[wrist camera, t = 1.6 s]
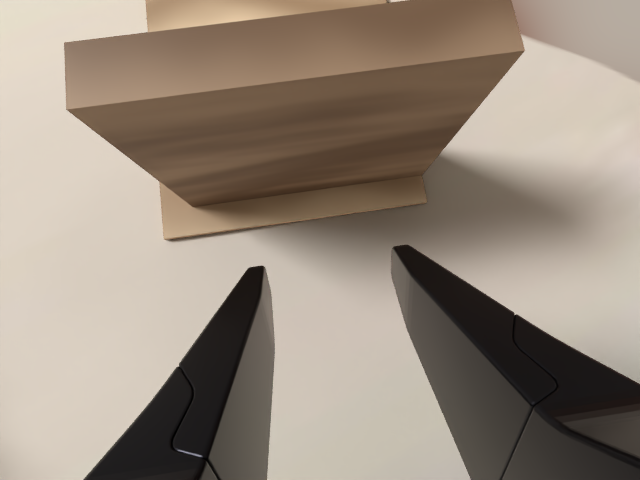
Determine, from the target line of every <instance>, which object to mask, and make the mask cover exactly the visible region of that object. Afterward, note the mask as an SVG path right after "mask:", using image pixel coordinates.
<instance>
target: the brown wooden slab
mask: <svg viewBox="0 0 640 480" xmlns="http://www.w3.org/2000/svg"><path fill="white" fill-rule="evenodd" d="M64 51H65V82H66V110H68V111H69V112H70V113H72V114H73V115H74V116H75V117H77V118H78V119H79V120H81V121H82V122H83V123H85V124H86V125H87V126H88V127H90V128H91V129H92V130H94V131H95V132H96V133H97V134H99V135H100V136H101V137H103V138H104V139H105V140H107V141H108V142H109V143H110V144H112V145H113V146H114V147H116V148H117V149H118V150H119V151H121V152H122V153H123V154H125V155H126V156H127V157H129V158H130V159H131V160H132V161H134V162H135V163H136V164H138V165H139V166H140V167H142V168H143V169H144V170H145V171H147V172H148V173H149V174H151V175H152V176H153V177H154V178H156V179H157V180H158V181H160V182H161V183H162V184H164V185H165V186H166V187H167V188H169V189H170V190H171V191H173V192H174V193H175V194H177V195H178V196H179V197H180V198H182V199H183V200H184V201H186V202H187V203H188V204H189V205H191V206H192V207H198V206H205V205H212V204H220V203H227V202H234V201H241V200H248V199H256V198H263V197H270V196H277V195H284V194H291V193H299V192H306V191H313V190H320V189H327V188H335V187H342V186H349V185H356V184H363V183H371V182H378V181H385V180H392V179H399V178H407V177H414V176H421V175H423V173H424V172H425V171H426V170H427V169H428V167H429V166H430V165H431V164H432V163H433V161H434V160H435V159H436V158H437V156H438V155H439V154H440V153H441V152H442V150H443V149H444V148H445V147H446V146H447V144H448V143H449V142H450V141H451V139H452V138H453V137H454V136H455V135H456V133H457V132H458V131H459V130H460V129H461V127H462V126H463V125H464V124H465V122H466V121H467V120H468V119H469V118H470V116H471V115H472V114H473V113H474V112H475V110H476V109H477V108H478V107H479V106H480V104H481V103H482V102H483V101H484V99H485V98H486V97H487V96H488V95H489V93H490V92H491V91H492V90H493V89H494V87H495V86H496V85H497V84H498V82H499V81H500V80H501V79H502V78H503V76H504V75H505V74H506V73H507V72H508V70H509V69H510V68H511V67H512V65H513V64H514V63H515V62H516V61H517V59H518V58H519V57H520V56H521V55H522V53H523V52H524V51H525V49H524V46H523V42H522V38H521V34H520V31H519V27H518V24H517V20H516V16H515V12H514V9H513V5H512V1H511V0H408V1H400V2H392V3H383V4H375V5H367V6H359V7H351V8H343V9H335V10H326V11H318V12H310V13H302V14H294V15H286V16H277V17H269V18H261V19H253V20H245V21H237V22H229V23H220V24H212V25H204V26H196V27H188V28H180V29H171V30H163V31H155V32H147V33H139V34H131V35H123V36H114V37H106V38H98V39H90V40H82V41H74V42H65V43H64Z"/></svg>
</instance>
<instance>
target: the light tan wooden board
mask: <svg viewBox="0 0 640 480" xmlns="http://www.w3.org/2000/svg"><path fill="white" fill-rule="evenodd" d="M383 3H387V1H386V0H146V12H147V25H148V32H155V31H163V30H171V29H180V28H188V27H196V26H204V25H212V24H220V23H229V22H237V21H245V20H253V19H261V18H269V17H277V16H286V15H294V14H302V13H310V12H318V11H326V10H335V9H343V8H351V7H359V6H367V5H375V4H383ZM159 183H160V196H161V209H162V222H163V235H164V239H165V240H170V239H177V238H184V237H191V236H198V235H205V234H212V233H219V232H227V231H234V230H241V229H248V228H255V227H262V226H269V225H276V224H283V223H290V222H297V221H304V220H311V219H318V218H325V217H332V216H339V215H347V214H354V213H361V212H368V211H375V210H382V209H389V208H396V207H403V206H410V205H417V204H424V203H426V202H427V198H426V193H425V188H424V183H423V178H422V175H421V176H414V177H407V178H399V179H392V180H385V181H378V182H371V183H363V184H356V185H349V186H342V187H335V188H327V189H320V190H313V191H306V192H299V193H291V194H284V195H277V196H270V197H263V198H256V199H248V200H241V201H234V202H227V203H220V204H212V205H205V206H198V207H192V206H191V205H189V204H188V203H187V202H186V201H184V200H183V199H182V198H180V197H179V196H178V195H177V194H175V193H174V192H173V191H171V190H170V189H169V188H167V187H166V186H165V185H164V184H162V183H161V182H160V181H159Z"/></svg>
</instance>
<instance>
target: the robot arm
mask: <svg viewBox="0 0 640 480" xmlns="http://www.w3.org/2000/svg"><path fill="white" fill-rule="evenodd" d="M391 274H392V279H393V283H394V287H395V290H396V294H397V297H398V300H399V304H400V307H401V311H402V314H403V318H404V321H405V324H406V328H407V330H408V333H409V335H410V338H411V340H412V343H413V345H414V347H415V350H416V352H417V354H418V357H419V359H420V361H421V364H422V366H423V368H424V371H425V373H426V375H427V378H428V380H429V382H430V385H431V387H432V389H433V392H434V394H435V396H436V399H437V401H438V403H439V406H440V408H441V410H442V413H443V415H444V417H445V420H446V422H447V424H448V427H449V429H450V431H451V434H452V436H453V438H454V441H455V443H456V445H457V448H458V450H459V452H460V455H461V457H462V459H463V462H464V464H465V466H466V469H467V471H468V473H469V476H470V478H471V480H640V384H639V383H637V382H635V381H633V380H631V379H629V378H628V377H626V376H624V375H622V374H620V373H618V372H616V371H615V370H613V369H611V368H609V367H607V366H605V365H603V364H601V363H600V362H598V361H596V360H594V359H592V358H590V357H588V356H587V355H585V354H583V353H581V352H579V351H577V350H576V349H574V348H572V347H570V346H568V345H567V344H565V343H563V342H561V341H560V340H558V339H556V338H554V337H553V336H551V335H549V334H548V333H546V332H544V331H543V330H541V329H539V328H538V327H536V326H535V325H533V324H531V323H530V322H528V321H527V320H525V319H523V318H522V317H520V316H519V315H515V316H514V312H512V311H511V310H509V309H508V308H506V307H505V306H503V305H501V304H500V303H498V302H497V301H495V300H494V299H492V298H491V297H489V296H487V295H486V294H484V293H483V292H481V291H480V290H478V289H476V288H475V287H473V286H472V285H470V284H469V283H467V282H466V281H464V280H462V279H461V278H459V277H458V276H456V275H455V274H453V273H452V272H450V271H448V270H447V269H445V268H444V267H442V266H441V265H439V264H438V263H436V262H434V261H433V260H431V259H430V258H428V257H427V256H425V255H423V254H422V253H420V252H419V251H417V250H416V249H414V248H413V247H411V246H409V245H400V246H394V247H393V248H392V256H391ZM274 354H275V343H274V326H273V311H272V297H271V290H270V285H269V281H268V277H267V273H266V269H265V267H264V266H256V267H250V268H248V269H247V271H246V272H245V273H244V275H243V276H242V277H241V279H240V280H239V282H238V283H237V284H236V286H235V287H234V289H233V290H232V291H231V293H230V294H229V295H228V297H227V298H226V300H225V301H224V302H223V304H222V305H221V307H220V308H219V309H218V311H217V312H216V313H215V315H214V316H213V318H212V319H211V320H210V322H209V323H208V325H207V326H206V327H205V329H204V330H203V331H202V333H201V334H200V336H199V337H198V338H197V340H196V341H195V343H194V344H193V345H192V347H191V348H190V349H189V351H188V352H187V354H186V355H185V356H184V358H183V359H182V361H181V362H180V363H179V367H176V369H175V370H174V371H173V373H172V374H171V376H170V377H169V378H168V380H167V381H166V382H165V384H164V385H163V386H162V388H161V389H160V390H159V392H158V393H157V394H156V395H155V397H154V398H153V399H152V401H151V402H150V403H149V404H148V405H147V407H146V408H145V409H144V410H143V411H142V413H141V414H140V415H139V416H138V417H137V419H136V420H135V421H134V422H133V423H132V424H131V426H130V427H129V428H128V429H127V430H126V431H125V433H124V434H123V435H122V436H121V437H120V438H119V439H118V441H117V442H116V443H115V444H114V445H113V446H112V447H111V449H110V450H109V451H108V452H107V453H106V454H105V455H104V457H103V458H102V459H101V460H100V461H99V462H98V464H97V465H96V466H95V467H94V468H93V469H92V470H91V472H90V473H89V474H88V475H87V476H86V477H85V478H84V480H267V469H268V453H269V437H270V421H271V405H272V388H273V372H274Z"/></svg>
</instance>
